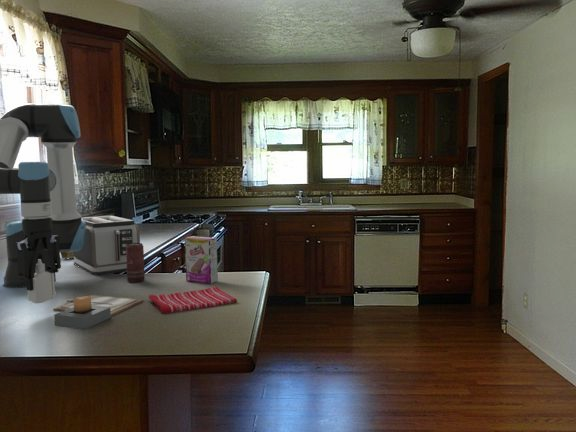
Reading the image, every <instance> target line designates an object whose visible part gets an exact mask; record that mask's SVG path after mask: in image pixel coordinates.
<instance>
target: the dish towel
mask: <svg viewBox="0 0 576 432" xmlns="http://www.w3.org/2000/svg"><path fill="white" fill-rule="evenodd" d="M148 299H149V300H150V302H151V301H152V302H151V303H152V304H153V305H154V307H155V308H156V309H158V311H159V312H160V313H161V314H163V315H164V314H165V313H166V314H171V313H180V312H185V311H192V310H193V309H194V310H198V309H199V308H200V309H206V307H207V308H213V306H215V307H219V305H220V306H225V304H226V305H231V303H232V304H236V303H237V301H238V299H237V298H235V297H233V296H231V295H230V294H228V293H226V291H224V290H223V291H222V289H220V288H219V287H218V286H211V287H208V288H203V289H198V290H197V289H196V290H191V291H182V292H181V291H180V292H172V293H168V294H166V293H165V294H155V295H154V294H149V296H148Z"/></svg>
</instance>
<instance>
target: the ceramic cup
mask: <svg viewBox="0 0 576 432" xmlns="http://www.w3.org/2000/svg"><path fill="white" fill-rule="evenodd" d="M74 257H75V256H74V255H73V252H60V258H61V259H62V258H74Z"/></svg>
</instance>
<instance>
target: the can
mask: <svg viewBox="0 0 576 432" xmlns="http://www.w3.org/2000/svg"><path fill="white" fill-rule="evenodd" d="M126 261H127V271H126V279H127V281H128V283H131V284H133V283H134V284H136V283H142V282H144V281H145V279H146V278H145V257H144V245H143V243H141V242H140V243H130V244H127V246H126Z"/></svg>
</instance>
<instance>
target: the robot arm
mask: <svg viewBox="0 0 576 432" xmlns="http://www.w3.org/2000/svg"><path fill="white" fill-rule="evenodd" d="M80 127H81V126H80V121H79V117H78V113H77V109H75V107H74V106H73V105H69V104H61V103H59V104H51V103H49V104H47V103H24V104H20V105H17V106H15V107H13V108H11V109H9V110H8V111H6V112H5V113H4V114H3V115H2V116H1V117H0V195H17V194H19V196H20V214H21V215H20V216H21V217H22V219H21V220H17V221H12V222H10V223H8V224H7V225H6V226H5V239H6V241H5V242H6V253H7V255H6V256H7V266H6V270H5V274H4V277H3V285H4V286H5V287H9V288H10V287H13V288H16V287H17V288H19V287H25V290H26V291H27V299H28V302H32V301H33V302H37V301H38V290H37V278H34V274H35V273H36V270H35V268H36V264H37V263H38V259H41V261H42V263H44V264H45V271H46V272H49V273H50V274H51V281H52V295H53V297H54V296H56V282H57V281H56V280H57V278H56V273H58V272H59V270H60V269H61V268H62V263H61V253H60V252H73V251H80V250H82V249H83V246H84V242H85V234H86V221H85V220H81V218H82V214H80V213H79V212H78V211H77V202H76V201H77V200H76V198H77V197H76V184H75V183H76V181H75V168H74V167H75V166H74V165H75V164H74V153H73V148H74V146H75V145H76V144H77V139H79V138H81V128H80ZM27 138H40V143H41V144H42V145H44V146H45V150H46V160H47V161H22V162H21V161H20V162H19V163H18V167H17V168H16V167H15V163H16V161H17V158H18V155H19V153H20V149H21V146H22V144H23V142H25V141H27ZM33 302H32V303H33Z"/></svg>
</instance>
